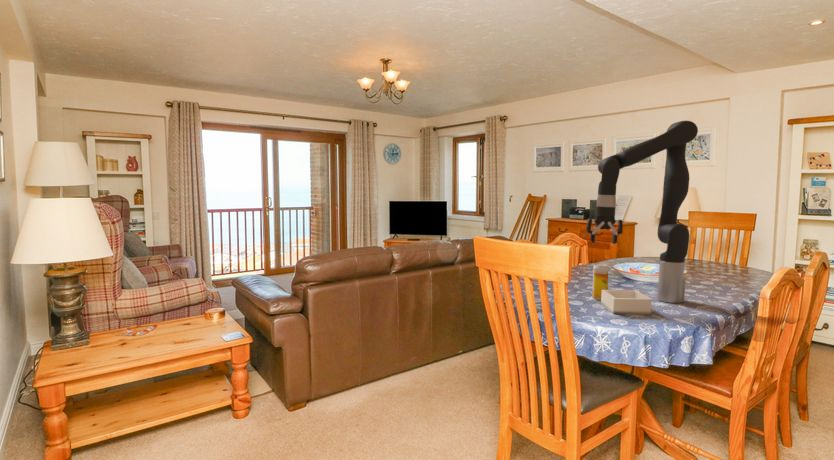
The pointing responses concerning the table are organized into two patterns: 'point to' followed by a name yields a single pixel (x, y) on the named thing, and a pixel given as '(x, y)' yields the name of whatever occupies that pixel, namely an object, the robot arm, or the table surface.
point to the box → (625, 302)
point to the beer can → (599, 280)
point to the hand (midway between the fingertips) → (603, 243)
